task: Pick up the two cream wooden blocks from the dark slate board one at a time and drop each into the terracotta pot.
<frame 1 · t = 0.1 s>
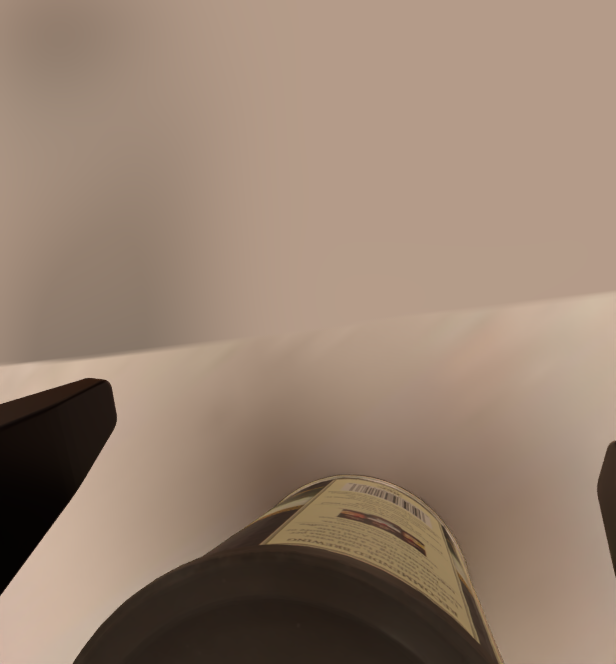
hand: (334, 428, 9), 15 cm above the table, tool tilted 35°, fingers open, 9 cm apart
coffee can: (355, 591, 23), on the table
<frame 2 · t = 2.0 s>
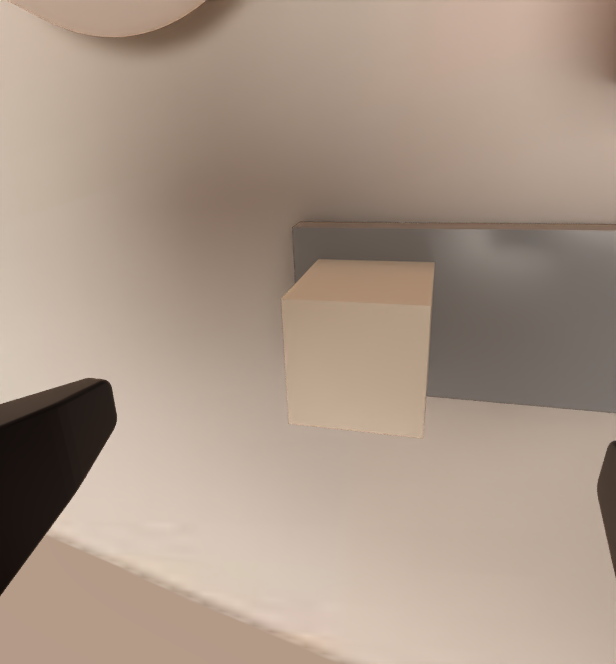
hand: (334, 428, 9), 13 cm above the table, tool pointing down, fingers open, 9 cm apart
slate board: (543, 313, 20), on the table
block 1: (374, 315, 20), point 1 cm above the table, touching slate board
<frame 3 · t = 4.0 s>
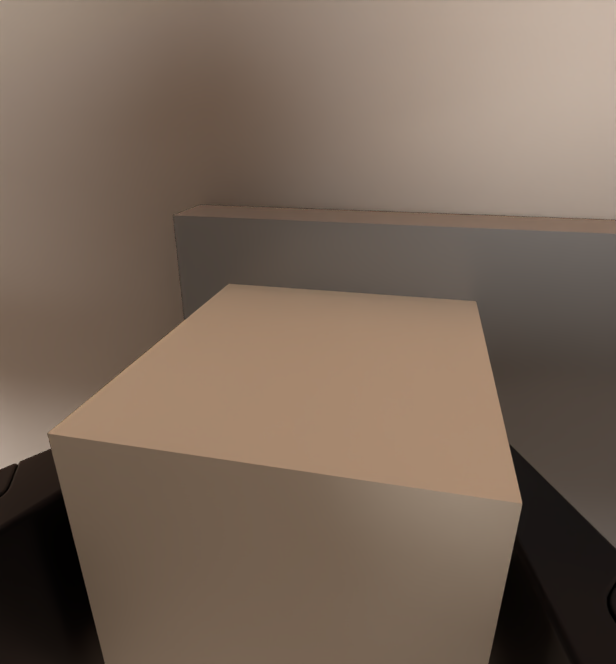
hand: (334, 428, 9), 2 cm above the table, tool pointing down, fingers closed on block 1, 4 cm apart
block 1: (343, 399, 10), point 1 cm above the table, touching gripper, slate board
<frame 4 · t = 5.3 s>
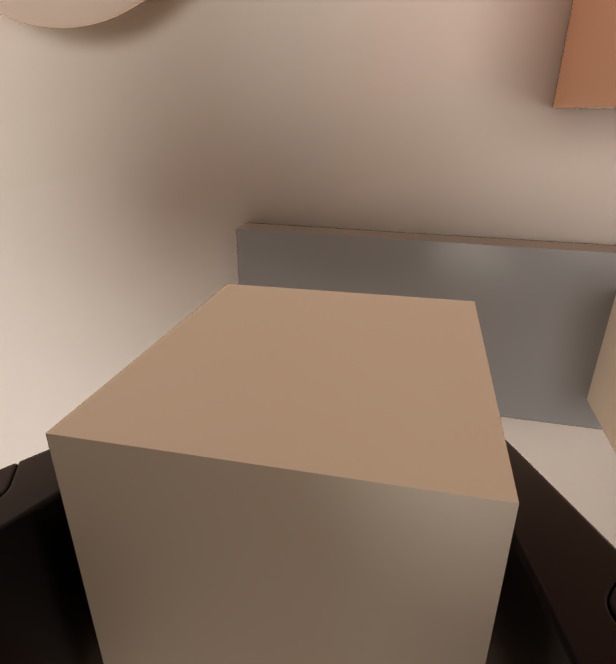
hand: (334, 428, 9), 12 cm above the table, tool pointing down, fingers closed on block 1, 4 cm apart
slate board: (478, 323, 20), on the table
block 1: (341, 399, 10), point 11 cm above the table, touching gripper
when the fingers open (10 cm above the table, at t = 6.8 s): block 1 drops 8 cm, resting on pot.
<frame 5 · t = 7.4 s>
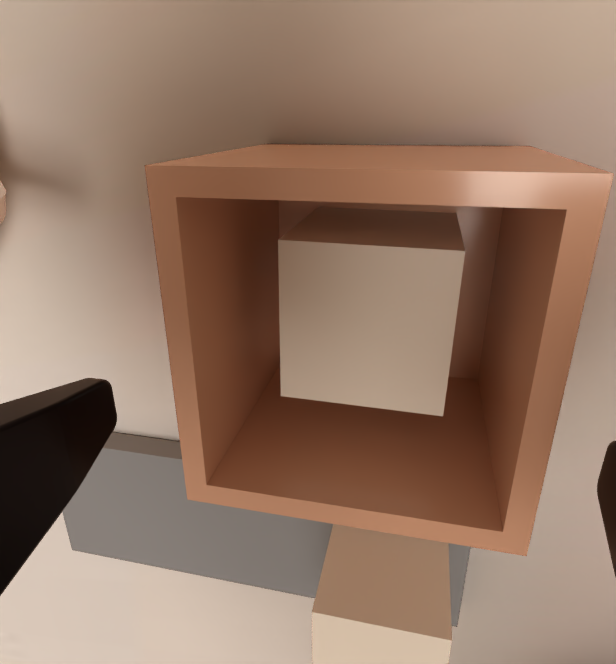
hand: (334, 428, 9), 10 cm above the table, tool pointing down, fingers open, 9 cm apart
slate board: (253, 511, 24), on the table
block 1: (381, 275, 17), point 1 cm above the table, touching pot
block 2: (388, 555, 22), point 1 cm above the table, touching slate board
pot: (383, 271, 18), on the table
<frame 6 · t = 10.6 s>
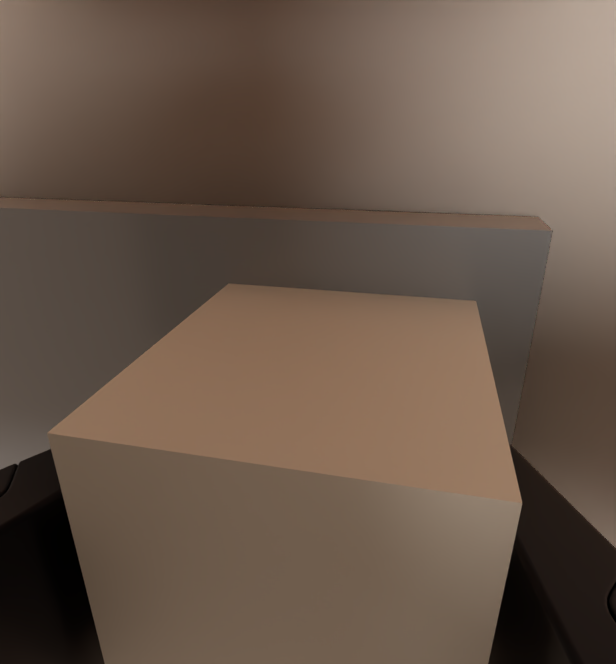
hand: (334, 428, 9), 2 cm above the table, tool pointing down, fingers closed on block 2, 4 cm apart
slate board: (90, 344, 12), on the table
block 2: (342, 399, 10), point 1 cm above the table, touching gripper, slate board
when the fingers open (10 cm above the table, at t = 13.1 s): block 2 drops 3 cm, resting on block 1.
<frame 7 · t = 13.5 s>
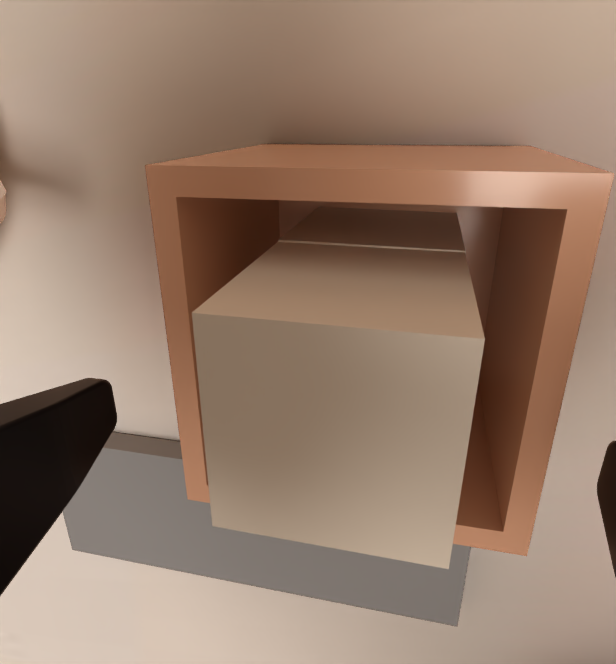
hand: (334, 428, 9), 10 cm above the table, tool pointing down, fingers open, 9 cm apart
slate board: (253, 511, 24), on the table
block 1: (381, 275, 17), point 1 cm above the table, touching block 2, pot
block 2: (363, 332, 13), point 6 cm above the table, touching block 1
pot: (383, 271, 18), on the table
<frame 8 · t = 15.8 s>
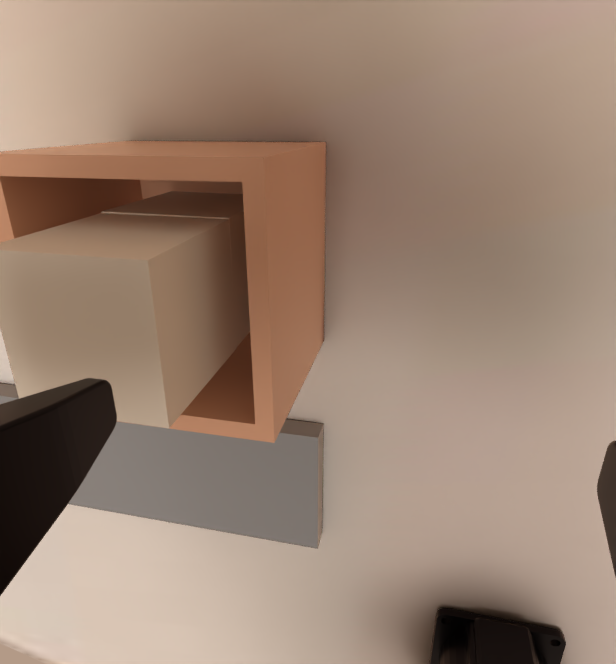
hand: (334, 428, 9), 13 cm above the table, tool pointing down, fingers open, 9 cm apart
slate board: (152, 455, 28), on the table
block 1: (225, 246, 22), point 1 cm above the table, touching block 2, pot
block 2: (170, 282, 17), point 6 cm above the table, touching block 1
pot: (230, 244, 22), on the table
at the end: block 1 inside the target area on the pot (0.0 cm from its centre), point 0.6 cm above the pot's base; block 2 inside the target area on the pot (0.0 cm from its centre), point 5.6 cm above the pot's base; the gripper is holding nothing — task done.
